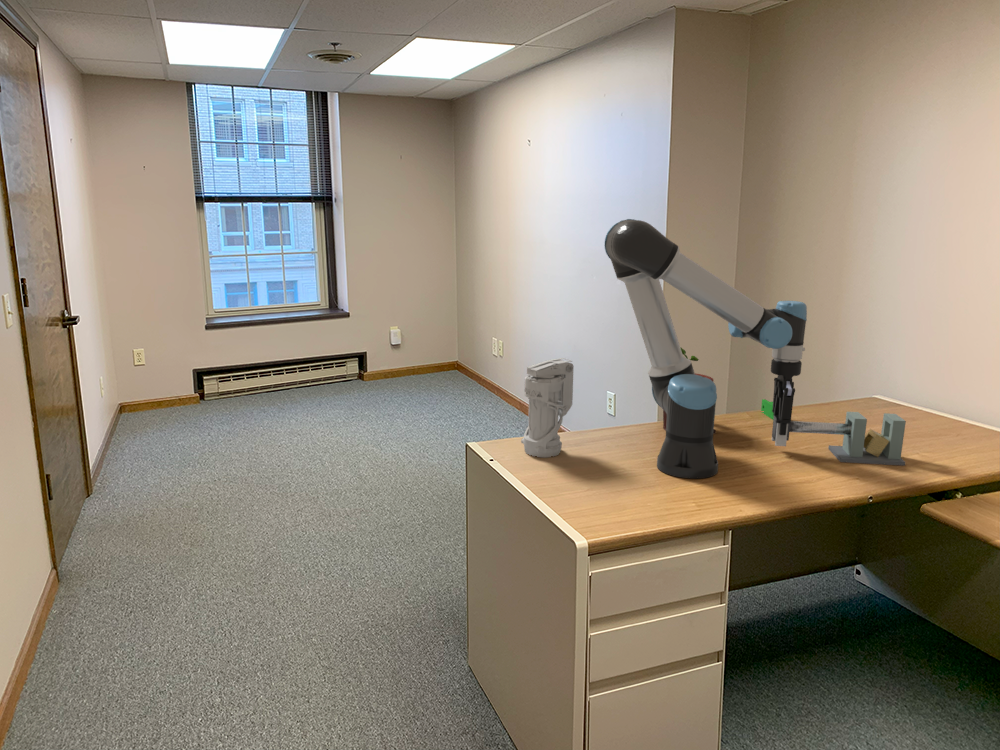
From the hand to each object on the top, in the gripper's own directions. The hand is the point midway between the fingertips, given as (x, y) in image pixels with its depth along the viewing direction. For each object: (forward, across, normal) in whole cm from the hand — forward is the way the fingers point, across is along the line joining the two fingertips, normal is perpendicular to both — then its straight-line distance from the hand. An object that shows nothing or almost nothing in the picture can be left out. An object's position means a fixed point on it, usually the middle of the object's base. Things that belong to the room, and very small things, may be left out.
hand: (778, 442), depth 198 cm
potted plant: (+3, +20, +22) cm, 30 cm away
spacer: (+1, 0, -23) cm, 23 cm away
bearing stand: (+3, 0, -23) cm, 23 cm away
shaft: (-1, 0, -9) cm, 9 cm away
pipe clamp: (+3, +37, -6) cm, 37 cm away
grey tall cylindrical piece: (+3, -10, +63) cm, 64 cm away
